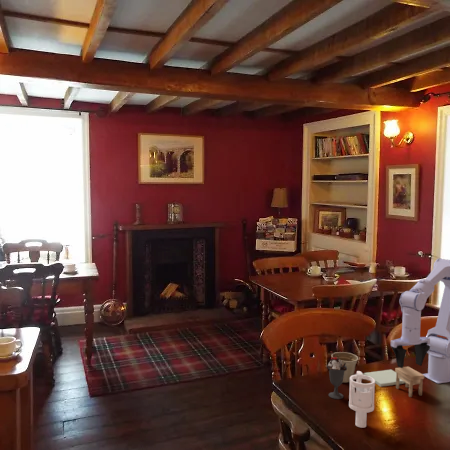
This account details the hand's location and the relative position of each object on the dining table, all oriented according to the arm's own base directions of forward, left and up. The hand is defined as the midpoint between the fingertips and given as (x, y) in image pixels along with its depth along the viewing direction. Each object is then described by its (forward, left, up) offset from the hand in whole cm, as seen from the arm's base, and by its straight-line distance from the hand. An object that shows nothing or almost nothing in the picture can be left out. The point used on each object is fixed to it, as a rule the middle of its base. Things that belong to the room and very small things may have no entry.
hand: (409, 365), depth 156 cm
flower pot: (+16, -15, -9) cm, 24 cm away
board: (+1, -11, -9) cm, 14 cm away
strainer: (+29, +15, -9) cm, 34 cm away
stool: (0, 0, -9) cm, 9 cm away
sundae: (+26, -4, -9) cm, 28 cm away
